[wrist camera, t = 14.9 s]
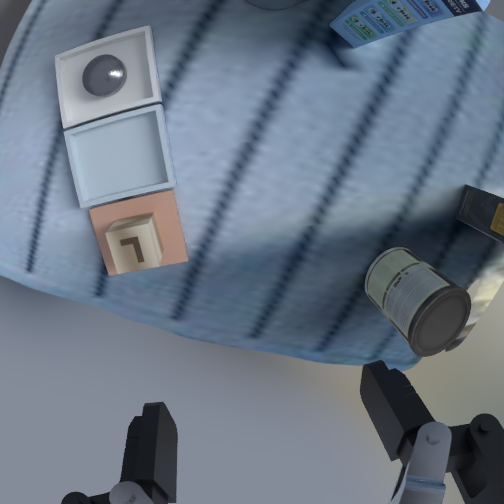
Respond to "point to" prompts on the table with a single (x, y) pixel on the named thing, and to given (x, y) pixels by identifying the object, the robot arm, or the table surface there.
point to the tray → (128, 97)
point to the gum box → (396, 17)
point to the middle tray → (120, 156)
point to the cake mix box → (482, 212)
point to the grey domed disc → (104, 75)
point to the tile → (138, 205)
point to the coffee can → (417, 300)
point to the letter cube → (135, 243)
